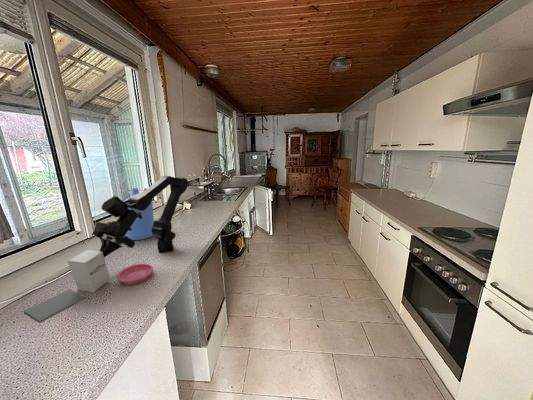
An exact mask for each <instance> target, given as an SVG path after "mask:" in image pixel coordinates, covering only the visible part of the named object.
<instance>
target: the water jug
mask: <svg viewBox="0 0 533 400" xmlns="http://www.w3.org/2000/svg"><path fill="white" fill-rule="evenodd" d="M131 191H132V196H134V195H136V194H138V193H140V192H139V191H140V190H139V188H131ZM129 198H130V197H128V198H127V199H124V200H123V201H126V200H128V199H129ZM153 205H154V203H153V200H152V201H151V204H150V205H149V206H148V207H147V208H146V209H145V210H143V211H140V210H134V209H131V208H128V209H129V210H134V211H136V212H140V213H141V216H142V219H139V218H136V220H135V221H134V223H133V224H132V226H131V227H130V228H131V229H132V230H131V231H128V232H127V233H126V235H125V236H127V237H128V238H130V239H132V240H134V241H142V240H146V239H148V238H149V239H150V238H152V237H154V235H153V234H152V232H151V231H152V226H153V224H154V221H155V218H154V206H153Z"/></svg>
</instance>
